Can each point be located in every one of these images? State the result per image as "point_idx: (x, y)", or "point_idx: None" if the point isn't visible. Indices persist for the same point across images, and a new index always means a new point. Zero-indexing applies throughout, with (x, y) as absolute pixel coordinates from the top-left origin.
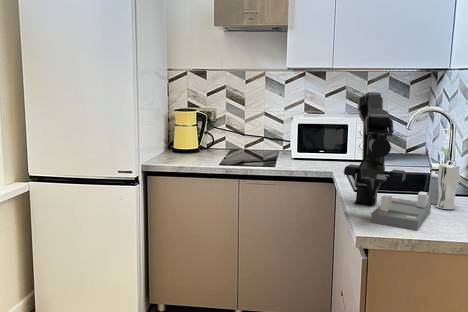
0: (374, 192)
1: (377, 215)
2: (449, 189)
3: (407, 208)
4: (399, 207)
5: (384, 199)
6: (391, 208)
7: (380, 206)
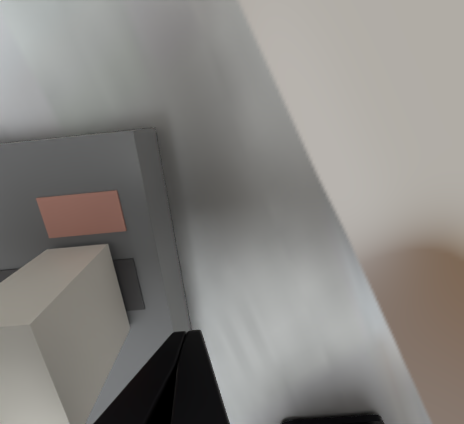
0: (133, 391)
1: (83, 136)
2: None
3: None
4: None
5: (2, 311)
6: None
7: None
